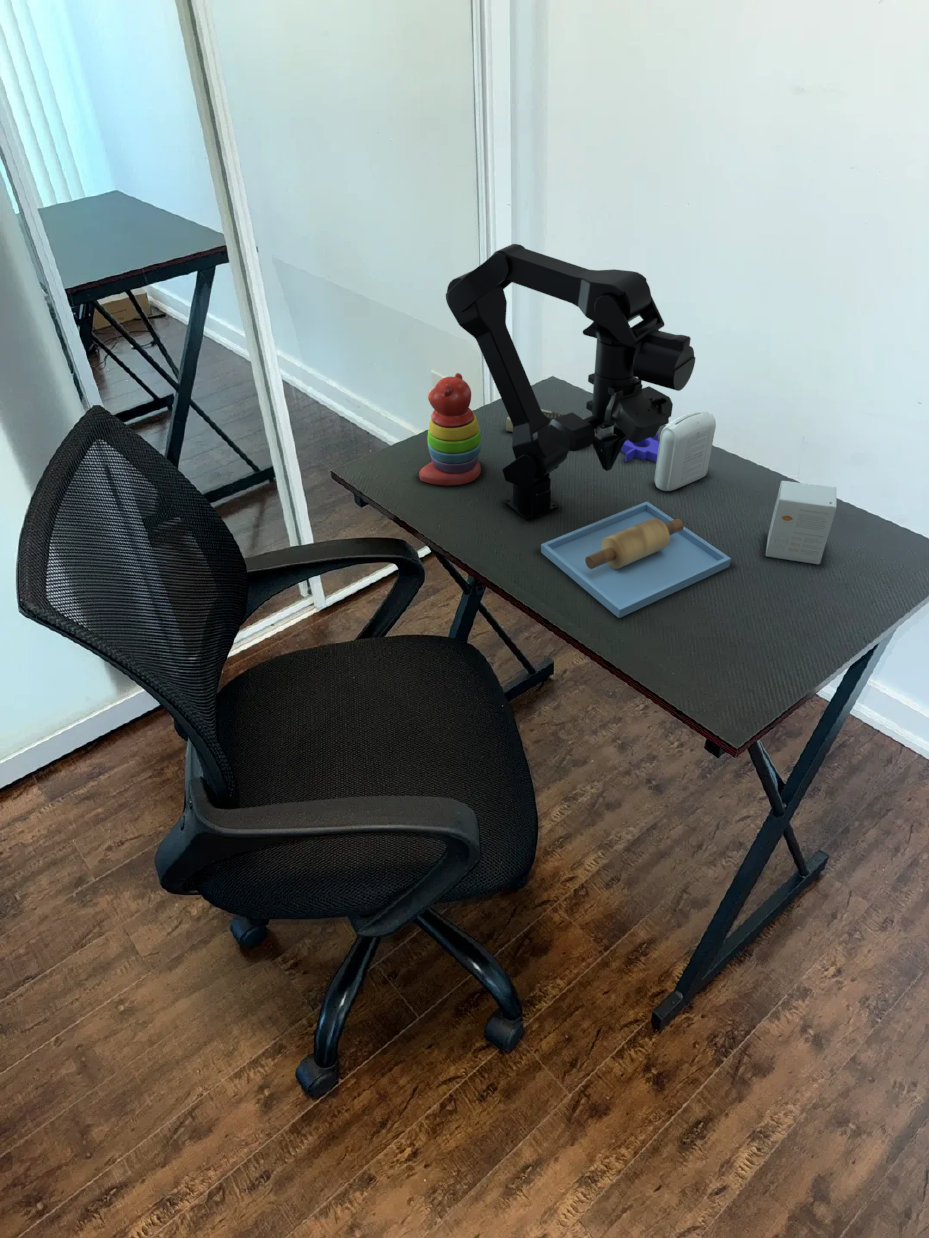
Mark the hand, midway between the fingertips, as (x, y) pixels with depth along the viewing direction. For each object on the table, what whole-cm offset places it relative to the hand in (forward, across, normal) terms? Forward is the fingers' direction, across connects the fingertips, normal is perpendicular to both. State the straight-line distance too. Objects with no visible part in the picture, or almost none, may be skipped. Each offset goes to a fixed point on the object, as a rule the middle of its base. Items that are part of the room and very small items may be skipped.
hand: (606, 469), depth 124 cm
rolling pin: (+12, 0, -8) cm, 14 cm away
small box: (+12, +21, -20) cm, 32 cm away
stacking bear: (+12, -10, +30) cm, 34 cm away
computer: (+12, +14, +32) cm, 37 cm away
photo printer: (+12, +22, +5) cm, 25 cm away
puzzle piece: (+12, +22, +17) cm, 31 cm away
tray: (+12, 0, -8) cm, 14 cm away
